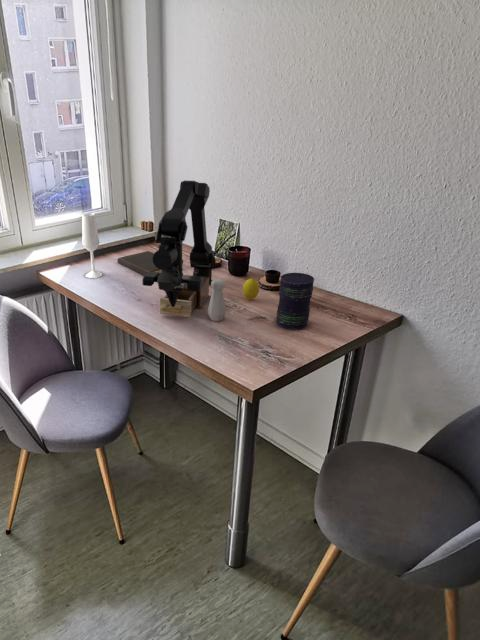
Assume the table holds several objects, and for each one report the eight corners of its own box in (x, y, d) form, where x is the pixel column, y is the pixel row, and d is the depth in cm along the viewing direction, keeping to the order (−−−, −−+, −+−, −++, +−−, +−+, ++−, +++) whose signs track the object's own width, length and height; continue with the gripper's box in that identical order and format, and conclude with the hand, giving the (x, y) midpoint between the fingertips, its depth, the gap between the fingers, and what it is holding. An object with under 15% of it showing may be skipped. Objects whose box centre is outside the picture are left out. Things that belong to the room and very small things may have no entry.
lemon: (259, 298, 177) (261, 276, 173) (255, 304, 173) (257, 281, 168) (244, 296, 179) (246, 274, 175) (240, 301, 175) (241, 280, 170)
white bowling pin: (206, 315, 166) (207, 277, 159) (223, 314, 166) (225, 276, 160) (209, 322, 161) (210, 284, 154) (227, 321, 161) (229, 283, 155)
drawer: (186, 322, 160) (186, 307, 157) (155, 318, 163) (155, 303, 160) (198, 305, 171) (199, 290, 169) (170, 301, 175) (169, 287, 172)
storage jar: (302, 332, 153) (308, 286, 145) (271, 326, 157) (275, 280, 149) (311, 320, 160) (318, 275, 152) (281, 314, 164) (286, 270, 156)
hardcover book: (148, 255, 222) (148, 250, 221) (179, 269, 206) (179, 263, 205) (117, 263, 215) (117, 258, 214) (147, 277, 199) (146, 272, 197)
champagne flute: (105, 273, 205) (100, 213, 192) (95, 278, 200) (89, 217, 187) (92, 271, 208) (86, 211, 195) (82, 276, 203) (75, 215, 190)
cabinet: (200, 308, 171) (200, 288, 167) (167, 304, 175) (167, 285, 171) (208, 296, 180) (209, 277, 177) (177, 292, 184) (177, 274, 180)
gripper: (134, 264, 150) (137, 313, 158) (195, 270, 144) (194, 319, 152) (147, 253, 158) (149, 299, 167) (205, 258, 152) (203, 305, 161)
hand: (173, 306), depth 161 cm, fingers closed
